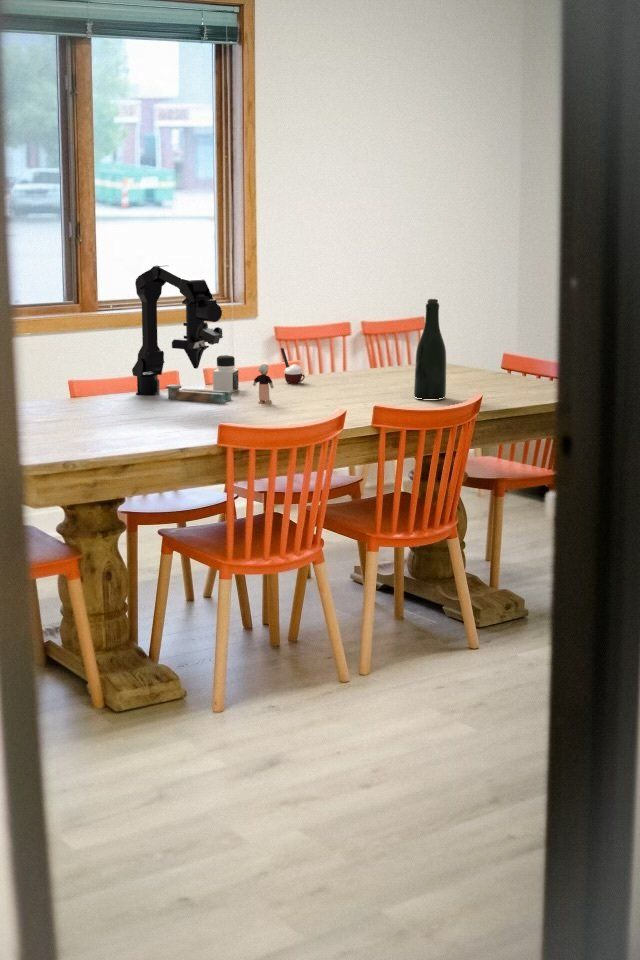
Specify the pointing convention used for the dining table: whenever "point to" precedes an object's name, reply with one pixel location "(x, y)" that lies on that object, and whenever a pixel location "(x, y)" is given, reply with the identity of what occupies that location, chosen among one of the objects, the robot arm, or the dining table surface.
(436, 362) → the dark wine bottle
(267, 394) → the grandmother figurine
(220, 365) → the medicine bottle
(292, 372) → the cocoa
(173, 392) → the base
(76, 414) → the dining table surface
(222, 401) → the tong leg
